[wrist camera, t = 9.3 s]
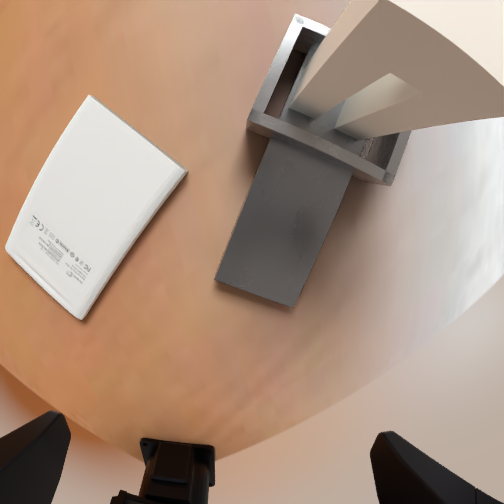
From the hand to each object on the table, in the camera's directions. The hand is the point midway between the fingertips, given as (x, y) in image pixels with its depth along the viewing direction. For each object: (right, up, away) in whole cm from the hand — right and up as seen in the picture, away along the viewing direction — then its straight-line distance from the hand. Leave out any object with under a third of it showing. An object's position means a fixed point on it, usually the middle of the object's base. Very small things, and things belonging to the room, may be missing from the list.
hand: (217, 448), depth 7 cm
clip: (+5, +14, +9) cm, 17 cm away
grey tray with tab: (+4, +10, +11) cm, 16 cm away
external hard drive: (-10, +8, +12) cm, 17 cm away
